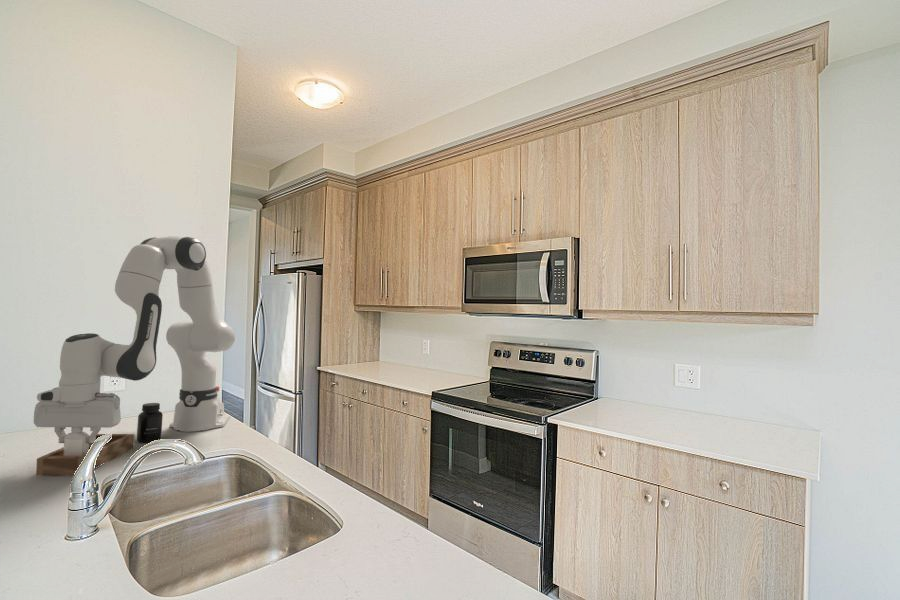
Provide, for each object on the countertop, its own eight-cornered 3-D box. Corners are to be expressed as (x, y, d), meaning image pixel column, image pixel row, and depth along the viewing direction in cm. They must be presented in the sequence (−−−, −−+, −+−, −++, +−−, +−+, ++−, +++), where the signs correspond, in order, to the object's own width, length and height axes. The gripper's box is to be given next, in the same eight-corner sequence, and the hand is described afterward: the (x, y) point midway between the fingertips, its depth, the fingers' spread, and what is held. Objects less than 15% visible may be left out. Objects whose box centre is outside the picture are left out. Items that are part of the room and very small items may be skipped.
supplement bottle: (148, 444, 141) (150, 407, 141) (131, 442, 142) (132, 405, 142) (166, 438, 148) (168, 402, 148) (149, 436, 149) (151, 401, 149)
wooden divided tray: (93, 448, 135) (94, 433, 135) (133, 448, 137) (133, 433, 137) (36, 475, 114) (36, 457, 114) (83, 475, 115) (84, 457, 115)
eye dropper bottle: (70, 467, 117) (72, 422, 117) (61, 462, 120) (63, 419, 120) (90, 462, 121) (91, 419, 121) (81, 457, 124) (82, 415, 124)
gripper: (127, 391, 125) (124, 439, 125) (49, 389, 123) (46, 439, 122) (112, 395, 119) (110, 446, 118) (30, 394, 116) (27, 446, 116)
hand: (77, 442), depth 120 cm, fingers closed on eye dropper bottle, 5 cm apart
